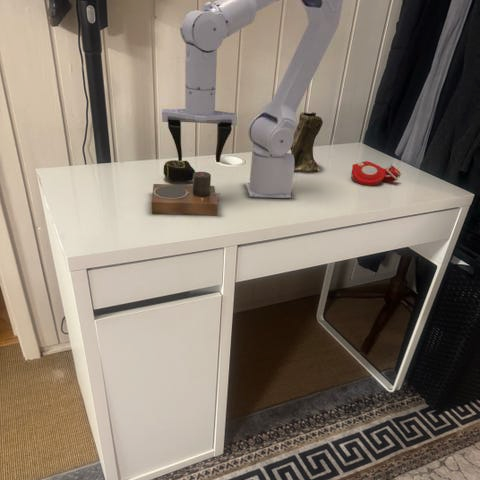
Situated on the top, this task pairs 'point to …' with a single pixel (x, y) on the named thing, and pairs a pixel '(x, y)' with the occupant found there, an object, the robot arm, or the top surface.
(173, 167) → the tape measure
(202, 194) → the dial
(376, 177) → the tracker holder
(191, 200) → the warmer
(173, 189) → the heating plate
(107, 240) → the top surface
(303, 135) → the tree stump
